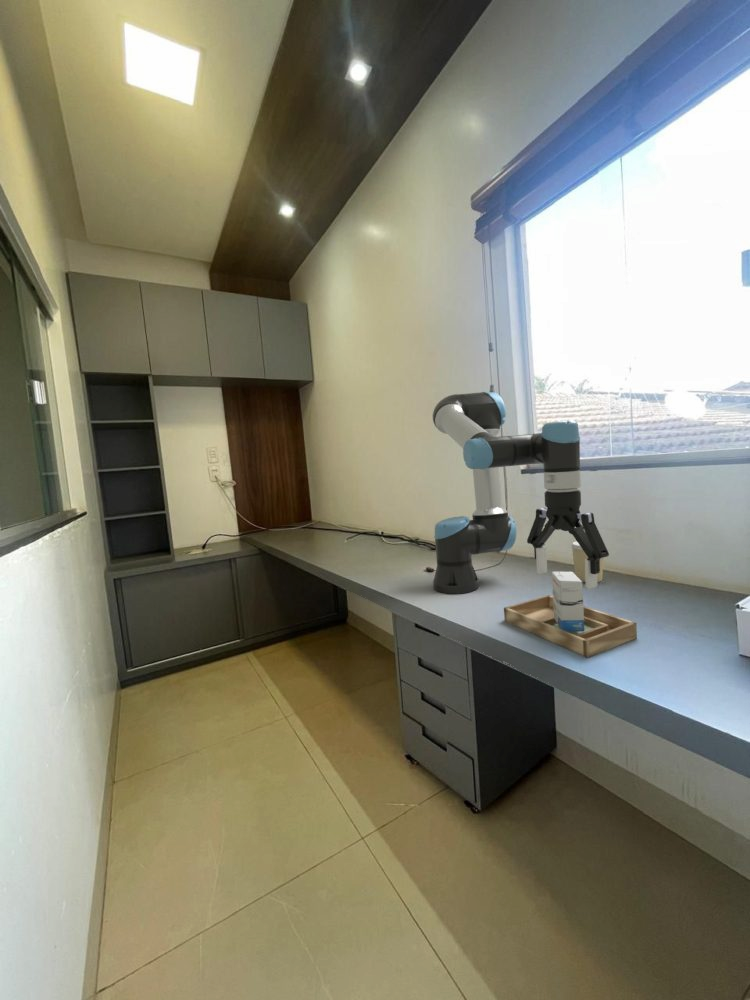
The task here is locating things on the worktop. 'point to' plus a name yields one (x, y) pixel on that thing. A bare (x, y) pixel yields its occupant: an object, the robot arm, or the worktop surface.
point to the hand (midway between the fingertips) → (565, 579)
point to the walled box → (594, 639)
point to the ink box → (568, 601)
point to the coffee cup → (583, 562)
